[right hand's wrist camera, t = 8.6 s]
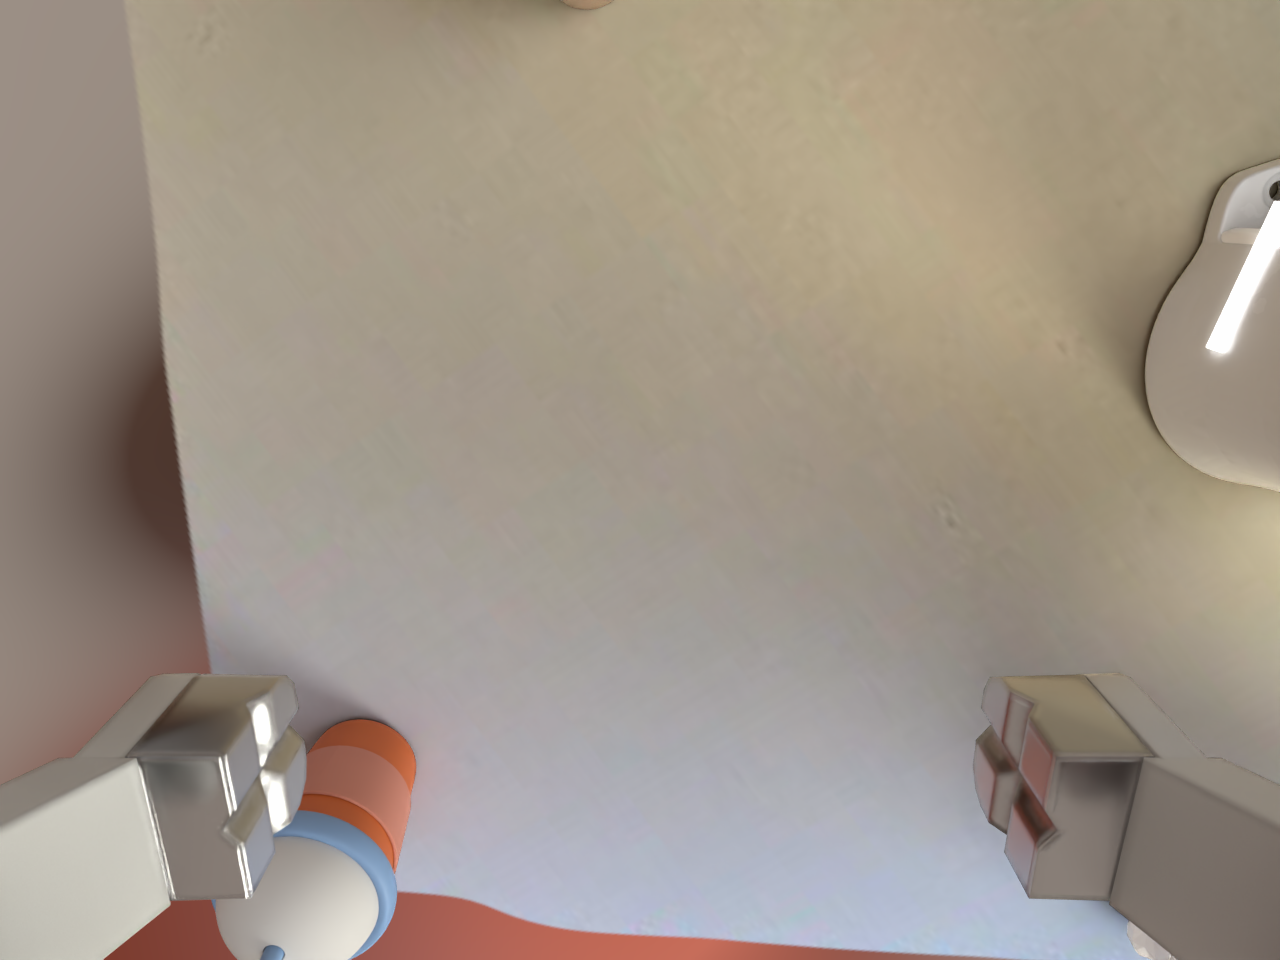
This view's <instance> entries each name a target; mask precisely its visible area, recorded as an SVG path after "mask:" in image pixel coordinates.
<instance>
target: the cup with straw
mask: <svg viewBox="0 0 1280 960" xmlns="http://www.w3.org/2000/svg"><path fill="white" fill-rule="evenodd" d="M306 757H307V766H306V782H305V786H304V791H303V795H302V799H301V804H300V806H299V808H298V810H297V812H296V814H295V816H294V818H293V820H292V822H291V823H290V824H288V825H287V826H285V827H284V828H283V829H281V830H280V831H278V832H277V833H275V834H274V835H273V838H274V844H275V850H276V853H275V854H274V856H273V858H272V860H271V862H270V864H269V866H268V868H267V869H266V871H265V873H264V875H263V877H262V879H261V881H260V883H259V884H258V886H257V888H256V890H255V892H254V894H253V896H252V898H246V899H212V904H213V907H214V909H215V912H216V918H217V923H218V927H219V930H220V933H221V935H222V938H223V940H224V942H225V944H226V946H227V947H228V948H229V950H230V951H231V953H232V954H233V955H234V956H235V957H236V958H237V959H238V960H350V959H352V958H355V957H357V956H358V955H360V954H362V953H363V952H365V951H366V950H367V949H369V948H370V947H371V946H372V945H373V944H374V943H375V942H376V941H377V940H378V939H379V938H380V937H381V936H382V934H383V933H384V931H385V930H386V928H387V927H388V925H389V923H390V921H391V919H392V916H393V913H394V910H395V905H396V899H397V885H396V879H395V875H394V874H395V871H396V867H397V863H398V859H399V855H400V851H401V847H402V843H403V838H404V834H405V830H406V826H407V822H408V817H409V813H410V807H411V799H410V796H411V791H412V787H413V783H414V779H415V773H416V761H415V756H414V753H413V751H412V749H411V747H410V745H409V744H408V742H407V741H406V740H405V739H404V738H403V737H402V736H401V735H400V734H399V733H398V732H396V731H395V730H393V729H392V728H390V727H388V726H386V725H384V724H381V723H379V722H375V721H371V720H361V719H358V720H349V721H344V722H341V723H339V724H336V725H334V726H333V727H331V728H330V729H328V730H327V731H326V732H325V733H324V734H323V735H322V736H321V737H320V738H319V739H318V741H317V742H316V743H315V745H314V746H313V747H312V748H311V750H310V751H309V752H308V754H307V755H306Z"/></svg>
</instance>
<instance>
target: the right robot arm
mask: <svg viewBox="0 0 1280 960" xmlns="http://www.w3.org/2000/svg"><path fill="white" fill-rule="evenodd" d="M1275 182H1277V184H1278V191H1277V193H1276V195H1275V196H1274V197H1273V198H1271V197H1270V195H1269V190H1270V188H1271V186H1272V185H1273V184H1274V183H1275ZM1145 386H1146V394H1147V400H1148V404H1149V409H1150V412H1151V415H1152V417H1153V420H1154V422H1155V424H1156V427H1157V428H1158V430H1159V432H1160V434H1161V435H1162V437H1163V438H1164V440H1165V441H1166V443H1167V444H1168V445H1169V446H1170V448H1171V449H1172V450H1173V451H1174V452H1175V453H1176V454H1177V455H1178V456H1179V457H1180V458H1182V459H1183V460H1184V461H1185V462H1187V463H1188V464H1189V465H1191V466H1192V467H1194V468H1196V469H1197V470H1199V471H1201V472H1203V473H1205V474H1207V475H1209V476H1212V477H1215V478H1217V479H1221V480H1224V481H1228V482H1233V483H1238V484H1244V485H1250V486H1257V487H1261V488H1266V489H1270V490H1274V491H1277V492H1280V158H1279V159H1276V160H1273V161H1270V162H1267V163H1264V164H1261V165H1258V166H1255V167H1251V168H1248V169H1245V170H1242V171H1240V172H1238V173H1236V174H1234V175H1232V176H1231V177H1230V178H1228V179H1227V180H1226V181H1225V182H1224V183H1223V185H1222V186H1221V188H1220V189H1219V191H1218V193H1217V195H1216V198H1215V200H1214V202H1213V205H1212V208H1211V211H1210V215H1209V218H1208V222H1207V225H1206V229H1205V233H1204V237H1203V241H1202V244H1201V245H1200V247H1199V249H1198V251H1197V253H1196V254H1195V256H1194V258H1193V259H1192V261H1191V262H1190V264H1189V265H1188V266H1187V268H1186V269H1185V271H1184V272H1183V273H1182V275H1181V276H1180V278H1179V279H1178V280H1177V282H1176V283H1175V285H1174V286H1173V288H1172V290H1171V291H1170V293H1169V294H1168V296H1167V298H1166V300H1165V302H1164V303H1163V306H1162V308H1161V310H1160V312H1159V314H1158V316H1157V319H1156V321H1155V324H1154V327H1153V330H1152V333H1151V336H1150V340H1149V345H1148V349H1147V355H1146V364H1145ZM298 709H299V705H298V700H297V695H296V690H295V685H294V682H293V681H292V680H291V679H290V678H289V677H288V676H287V675H240V674H203V675H201V674H198V673H181V674H159V675H155V676H151V677H150V678H149V679H148V680H147V681H146V682H145V683H144V684H143V685H142V686H141V687H140V688H139V689H138V690H137V691H136V692H135V693H134V694H133V695H132V696H131V697H130V698H129V700H128V701H127V702H126V703H125V704H124V705H123V706H122V707H121V708H120V709H119V710H118V711H117V712H116V713H115V714H114V715H113V716H112V717H111V718H110V719H109V720H108V721H107V723H106V724H105V725H104V726H103V727H102V728H101V729H100V730H99V731H98V732H97V733H96V734H95V735H94V736H93V737H92V738H91V739H90V740H89V741H88V742H87V743H86V744H85V746H84V747H83V748H82V749H81V750H80V751H79V752H78V753H77V754H76V755H75V756H74V757H73V758H57V759H55V760H53V761H51V762H48V763H46V764H44V765H42V766H40V767H38V768H36V769H33V770H31V771H29V772H27V773H25V774H23V775H21V776H18V777H16V778H14V779H12V780H10V781H8V782H6V783H3V784H1V785H0V960H103V959H104V958H105V957H107V956H108V955H109V954H110V953H111V952H113V951H114V950H115V949H116V948H118V947H119V946H120V945H121V944H123V943H124V942H125V941H126V940H128V939H129V938H130V937H131V936H133V935H134V934H135V933H136V932H138V931H139V930H140V929H141V928H143V927H144V926H145V925H146V924H147V923H149V922H150V921H151V920H152V919H154V918H155V917H156V916H157V915H159V914H160V913H161V912H162V911H164V910H165V909H166V908H167V907H169V906H170V904H171V903H170V901H177V900H212V899H246V898H252V896H253V894H254V892H255V890H256V888H257V886H258V884H259V883H260V881H261V879H262V877H263V875H264V873H265V871H266V869H267V868H268V866H269V864H270V862H271V860H272V858H273V856H274V854H275V853H276V850H275V844H274V838H273V835H274V834H275V833H277V832H278V831H280V830H281V829H283V828H284V827H285V826H287V825H288V824H290V823H291V822H292V820H293V818H294V816H295V814H296V812H297V810H298V808H299V806H300V804H301V799H302V795H303V791H304V786H305V782H306V766H307V757H306V750H305V743H304V740H303V739H302V737H301V736H300V735H299V734H298V733H297V732H296V731H295V730H294V729H293V728H292V727H291V726H290V725H289V723H290V722H291V720H292V718H293V717H294V715H295V714H296V712H297V710H298ZM981 709H982V710H983V712H984V714H985V715H986V717H987V718H988V720H989V722H990V723H991V725H990V726H989V727H988V728H987V729H986V730H985V731H984V732H983V733H982V734H981V735H980V736H979V737H978V738H977V740H976V744H975V752H974V760H973V770H974V781H975V789H976V793H977V796H978V799H979V803H980V806H981V808H982V810H983V812H984V814H985V816H986V818H987V820H988V822H989V823H990V824H992V825H993V826H995V827H996V828H997V829H999V830H1000V831H1002V832H1003V833H1005V834H1006V835H1007V838H1006V844H1005V850H1004V853H1005V854H1006V856H1007V858H1008V860H1009V862H1010V864H1011V866H1012V868H1013V869H1014V871H1015V873H1016V875H1017V877H1018V879H1019V881H1020V882H1021V884H1022V886H1023V888H1024V890H1025V892H1026V894H1027V896H1028V897H1029V898H1031V899H1067V900H1103V901H1110V902H1109V905H1111V906H1112V907H1113V908H1114V909H1115V910H1117V911H1118V912H1119V913H1120V914H1122V915H1123V916H1124V917H1125V918H1127V919H1128V920H1129V921H1130V922H1132V923H1133V924H1134V925H1135V926H1137V927H1138V928H1139V929H1140V930H1141V931H1143V932H1144V933H1145V934H1146V935H1148V936H1149V937H1150V938H1151V939H1153V940H1154V941H1155V942H1156V943H1158V944H1159V945H1160V946H1161V947H1163V948H1164V949H1165V950H1166V951H1167V952H1169V953H1170V954H1171V955H1172V956H1174V957H1175V958H1176V959H1177V960H1280V785H1279V784H1276V783H1274V782H1272V781H1270V780H1268V779H1266V778H1264V777H1261V776H1259V775H1257V774H1255V773H1253V772H1251V771H1249V770H1246V769H1244V768H1242V767H1240V766H1238V765H1236V764H1234V763H1231V762H1229V761H1227V760H1225V759H1223V758H1207V757H1206V756H1205V755H1204V754H1203V753H1202V752H1201V751H1200V750H1199V749H1198V748H1197V747H1196V745H1195V744H1194V743H1193V742H1192V741H1191V740H1190V739H1189V738H1188V737H1187V736H1186V735H1185V734H1184V733H1183V732H1182V731H1181V730H1180V729H1179V728H1178V727H1177V726H1176V725H1175V723H1174V722H1173V721H1172V720H1171V719H1170V718H1169V717H1168V716H1167V715H1166V714H1165V713H1164V712H1163V711H1162V710H1161V709H1160V708H1159V707H1158V706H1157V705H1156V704H1155V703H1154V701H1153V700H1152V699H1151V698H1150V697H1149V696H1148V695H1147V694H1146V693H1145V692H1144V691H1143V690H1142V689H1141V688H1140V687H1139V686H1138V685H1137V684H1136V683H1135V682H1134V681H1133V679H1132V678H1131V677H1128V676H1126V675H1123V674H1121V673H1102V674H1076V675H1047V676H1008V677H990V678H989V680H988V682H987V684H986V686H985V688H984V693H983V699H982V705H981Z"/></svg>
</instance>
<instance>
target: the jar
mask: <svg viewBox="0 0 1280 960" xmlns="http://www.w3.org/2000/svg"><path fill="white" fill-rule="evenodd" d="M560 1H561V2H563V3H565V4H566V5H568V6H571V7H574V8H578V9H585V10H587V9H596V8H600V7H603V6H605V5H607V4H609V3H610V2H612V1H613V0H560Z"/></svg>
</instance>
